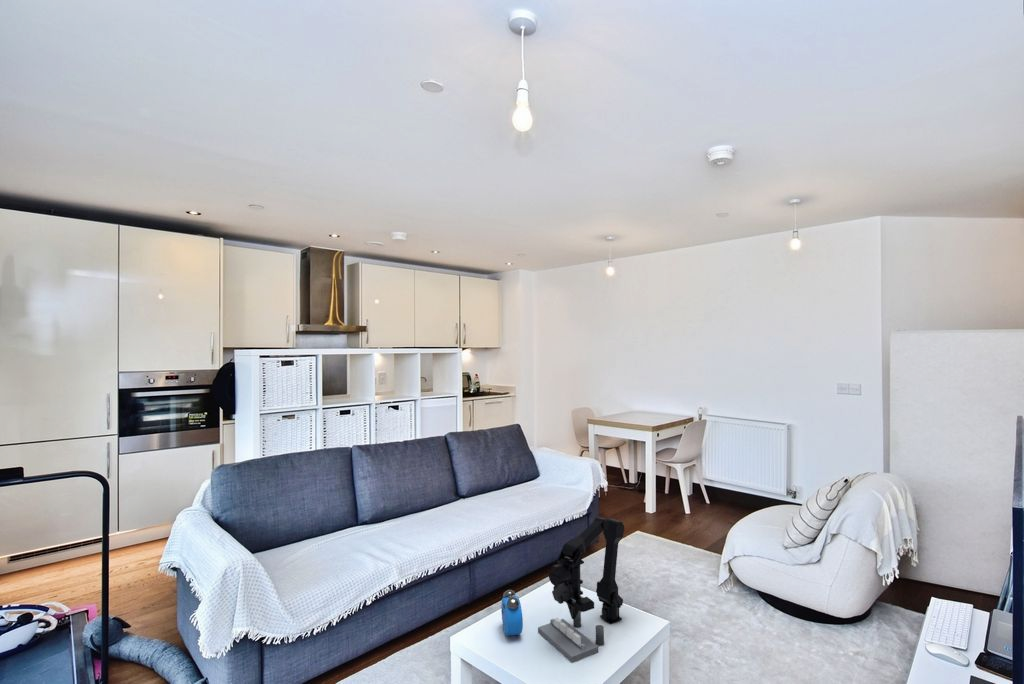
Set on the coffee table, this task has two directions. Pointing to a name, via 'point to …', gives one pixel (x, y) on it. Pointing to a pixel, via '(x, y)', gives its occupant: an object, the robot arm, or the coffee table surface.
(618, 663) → the coffee table surface
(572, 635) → the breaker paddles
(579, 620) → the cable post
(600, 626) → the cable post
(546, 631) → the breaker panel
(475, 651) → the coffee table surface
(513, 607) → the alarm clock
